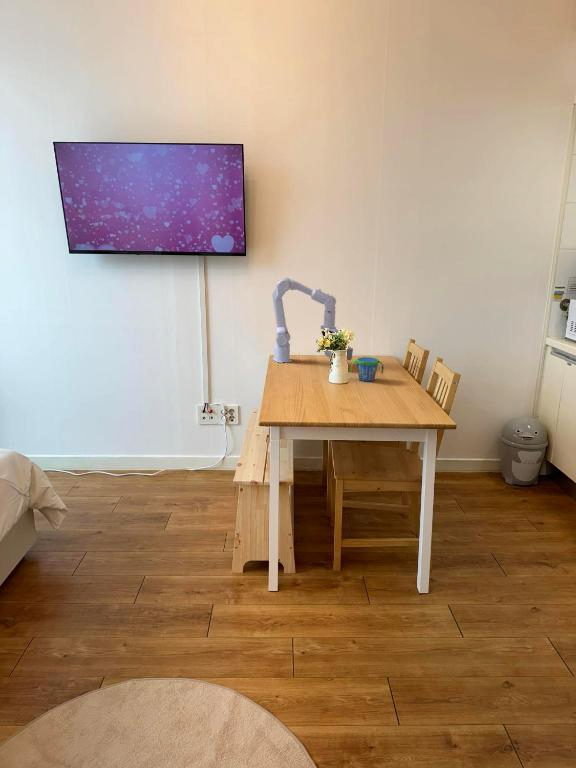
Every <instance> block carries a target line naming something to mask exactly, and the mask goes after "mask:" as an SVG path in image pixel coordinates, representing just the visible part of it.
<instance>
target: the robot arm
mask: <svg viewBox="0 0 576 768" xmlns="http://www.w3.org/2000/svg"><path fill="white" fill-rule="evenodd" d="M289 290H290V291H295V290H296V291H299V292H302V293H303V294H306V295H308V296H310V298H311V300H313V301H315V302H317V303H319V304H321V305H324V312H323V313H324V314H323V325H320V330H321V332H320V333H321V334H322V336H323V338H324V336H325V332H324V330H325V328H329V332H330V333H335V332H337V331H338V332H339V330H338V329H337V327H336V326H335V324H336V304H337V300H336V297H335V296H334V295H330V293H326V292H323V291H322V289H321V288H319V289H318V288H316V289H312V288H309V287H308V286H306V285H304V284H302V283H301V282H299V281H296V280H294V279H290V278H288V277H284V278H282V279H281V280H279V281H278V282H277V284H276V285H275V288H274V290H273V292H272V295H271V297H272V302H273V309H274V316H275V322H276V338H275V341H276V344H275V345H274V347H273V358H271V359H272V361H275V362H277V363H278V362H279V364H282V363H283V362H285V363H293V362H292V361H293V360H292V359H290V357H291V356H290V355H291V354H290V352H291V349H290V348H291V344H290V342H289V341H290V340H291V334H290V332H289V331H288V327H287V323H286V322H287V321H286V316H285V309H284V302H283V297H284V295H285V294H286V292H288V291H289ZM283 364H284V363H283Z"/></svg>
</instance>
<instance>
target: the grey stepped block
mask: <svg viewBox="0 0 576 768" xmlns="http://www.w3.org/2000/svg"><path fill="white" fill-rule="evenodd" d="M323 352H324V355H325V356H326V357H328V358H329V359H330V357H331V351H328V350H326V351H323ZM353 352H354V348H353V347H351V346H349V345H348V349H347V360H346V361H352V359H353Z"/></svg>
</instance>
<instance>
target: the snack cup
mask: <svg viewBox="0 0 576 768" xmlns="http://www.w3.org/2000/svg"><path fill="white" fill-rule="evenodd" d="M355 363H356V366H357V374H358V380H359V381H362V382H373V381H375V378H376V375H377V374H376V373H377V369H378V366H379V364H380V365H381V374H382V375H383V374H384V364H383V362H382V361H381V360H380V359H378V358H375V357H370V356H369V357H367V356H365V357H364V356H362V357H358V358H356V359H355V360H353V361H352V363H351V364H350V365H351V366H350V372H351V374H352V373H353V365H354V364H355Z"/></svg>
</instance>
